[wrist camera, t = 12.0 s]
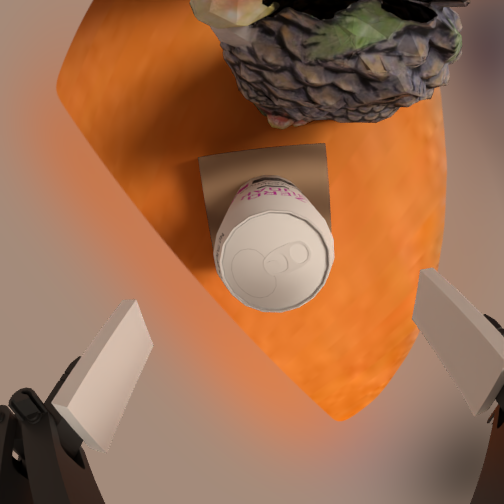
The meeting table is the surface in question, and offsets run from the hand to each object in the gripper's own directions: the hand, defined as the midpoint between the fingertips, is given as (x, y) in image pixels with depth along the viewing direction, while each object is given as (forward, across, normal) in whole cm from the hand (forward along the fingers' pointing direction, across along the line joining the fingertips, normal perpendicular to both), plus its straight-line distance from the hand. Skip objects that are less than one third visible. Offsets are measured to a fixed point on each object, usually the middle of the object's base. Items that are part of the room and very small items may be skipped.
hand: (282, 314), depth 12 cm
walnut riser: (+25, 0, 0) cm, 25 cm away
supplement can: (+21, 0, 0) cm, 21 cm away
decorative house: (+25, +8, +16) cm, 31 cm away
